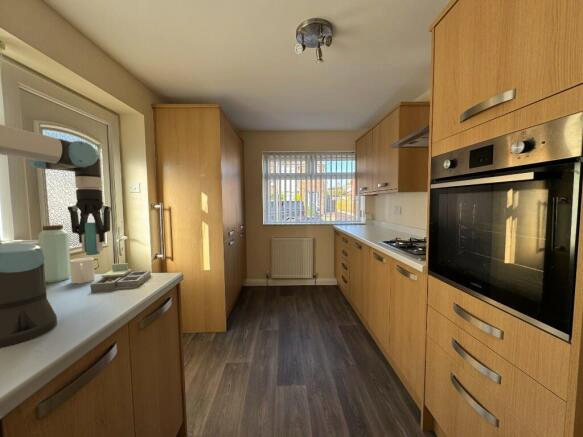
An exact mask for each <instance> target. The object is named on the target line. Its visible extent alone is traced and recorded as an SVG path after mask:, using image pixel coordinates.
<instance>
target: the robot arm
mask: <svg viewBox="0 0 583 437" xmlns="http://www.w3.org/2000/svg"><path fill="white" fill-rule="evenodd" d="M0 155H1V156H8V157H12V158H13V157H14V158H20V159H27V161H28V163H29V165H30V166H31V167H32V168H36V169H42V170H52V171H53V170H54V171H65V172H74V180H75V182H74V183H75V188H76V190H75V194H76V196H75V197H76V203H75V205H72V206H67V210H68V212H69V216H70V224H71V232H72V233H73V234H77V235H78V241H79V244H81V249H82V250H81V251H82V253H86V242H85V226H84V223H87V222H89V221H88V220H89V216H90V214H91V216H92V217H93V220H94V222H95V224H96V227H97V231H98V233H97V234H96V246H97V252H99V251H100V252H102V251H104V250H103V249H104V248H103V247H104V246H103V243H104V242H105V241H106V235H105V233H108V232H110V231H111V211H112V205H106V204H104V202H103V191H102V190H101V189H102V177H101V175H102V174H101V155H100V151H99V148H97V147H95V146H94V145H92V144H91V143H89V142H87V141H85V140H84V141H81V140H75V141H70V140H66V139H61V138H56V137H53V136H50V135H45V134H43V133H42V134H41V133H39V132H38V133H36V132H33V131H29V130H24V129H21V128H16V127H13V126H8V125H4V124H0ZM101 210H102V211H103V212H102V215H103V216H101ZM78 211H80V213H79V212H78ZM79 214H80V217H79ZM79 218H80V219H79ZM102 218H103V220H102ZM44 260H45V257H44V255H43V250H42V248H41V247H40V246H39V244H38V245H37V244H34V243H27V242H26V243H21V242H20V243H19V242H15V243H14V242H13V243H12V242H11V243H3V242H1V241H0V348H3V347H8V346H12V345H15V344H19V343H22V342H26V341H29V340H31V339H34V338H36V337H40V336H42V335H44V334H46V333H48V332H50V331H51V330H53V329H54V328H56V326H57V325H58V316H57V313H56V312H55V310H54V309H53V306H52V305H51V302H50V301H49V300H48V296H47V284H46V283H47V282H46V280H45V264H44Z"/></svg>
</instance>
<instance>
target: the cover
mask: <svg viewBox="0 0 583 437" xmlns="http://www.w3.org/2000/svg"><path fill="white" fill-rule="evenodd" d="M111 265H112V269H111V270H109V271H107V272H106V273H104V274H102V275H101V278H103V277H114V276H124V275H125V274H127V273H129V272H130V271H132V268H129V263H128V262H127V263H126V262H124V263H121V262H120V263H112V264H111Z"/></svg>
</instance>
